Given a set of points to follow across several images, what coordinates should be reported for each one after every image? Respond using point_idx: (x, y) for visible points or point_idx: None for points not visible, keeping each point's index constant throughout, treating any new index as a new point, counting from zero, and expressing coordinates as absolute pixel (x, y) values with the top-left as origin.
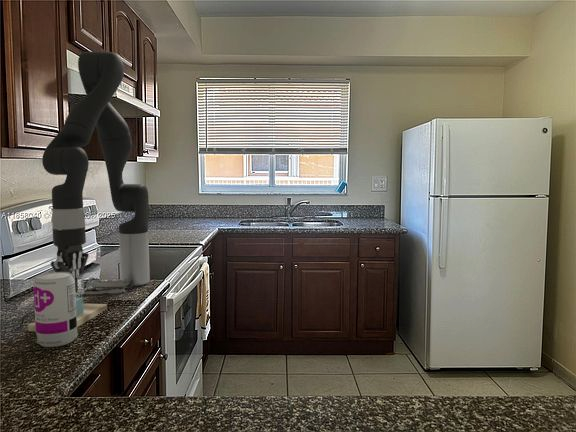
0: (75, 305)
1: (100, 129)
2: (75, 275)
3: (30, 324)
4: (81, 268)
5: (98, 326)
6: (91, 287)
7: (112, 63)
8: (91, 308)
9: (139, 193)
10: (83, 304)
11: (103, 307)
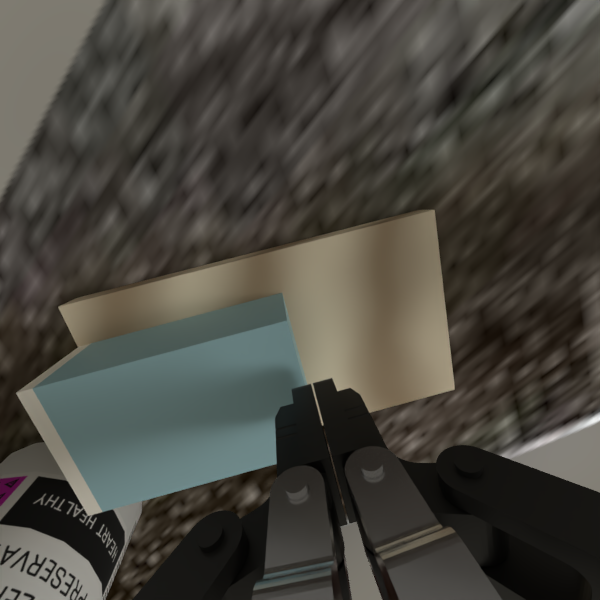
0: None
1: None
2: (366, 551)
3: (68, 314)
4: (506, 594)
5: (259, 491)
6: None
7: None
8: (379, 376)
9: None
10: (424, 289)
11: (421, 394)
